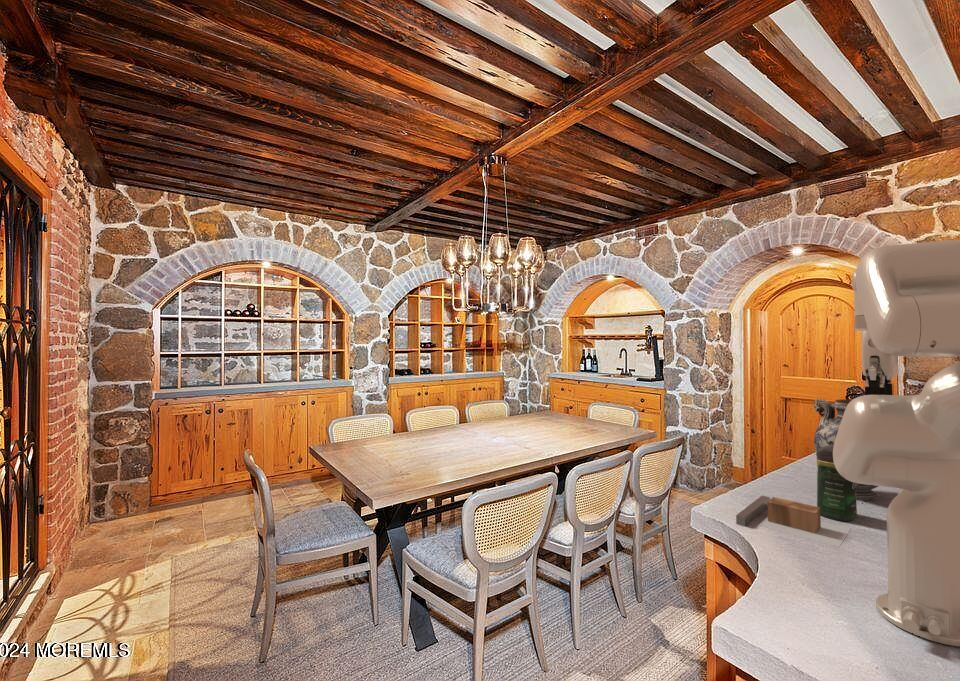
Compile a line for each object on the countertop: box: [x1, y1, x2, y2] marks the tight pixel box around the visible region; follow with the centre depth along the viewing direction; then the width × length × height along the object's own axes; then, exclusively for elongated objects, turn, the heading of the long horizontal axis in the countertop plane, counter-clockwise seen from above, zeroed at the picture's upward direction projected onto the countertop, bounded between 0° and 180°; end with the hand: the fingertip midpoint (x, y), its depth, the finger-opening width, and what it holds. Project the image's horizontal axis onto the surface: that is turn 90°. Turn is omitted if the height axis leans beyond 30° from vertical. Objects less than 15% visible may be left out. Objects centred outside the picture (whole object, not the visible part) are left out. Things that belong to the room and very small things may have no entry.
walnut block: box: [767, 496, 822, 534], centre depth 110 cm, size 5×5×10 cm
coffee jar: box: [816, 444, 858, 523], centre depth 115 cm, size 10×8×19 cm
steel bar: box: [735, 495, 771, 527], centre depth 117 cm, size 20×2×2 cm, turn 131°
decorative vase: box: [813, 398, 879, 501], centre depth 130 cm, size 21×19×28 cm
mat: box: [758, 516, 852, 548], centre depth 108 cm, size 14×16×1 cm
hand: (879, 403), depth 93 cm, fingers open, 9 cm apart
